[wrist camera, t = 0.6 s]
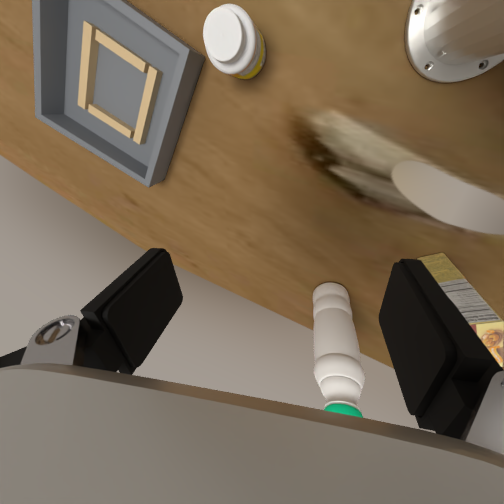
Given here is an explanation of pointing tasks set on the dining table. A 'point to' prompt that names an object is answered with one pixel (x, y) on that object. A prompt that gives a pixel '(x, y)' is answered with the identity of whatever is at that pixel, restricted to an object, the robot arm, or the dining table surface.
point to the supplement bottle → (234, 42)
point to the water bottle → (336, 350)
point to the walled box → (113, 82)
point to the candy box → (468, 303)
